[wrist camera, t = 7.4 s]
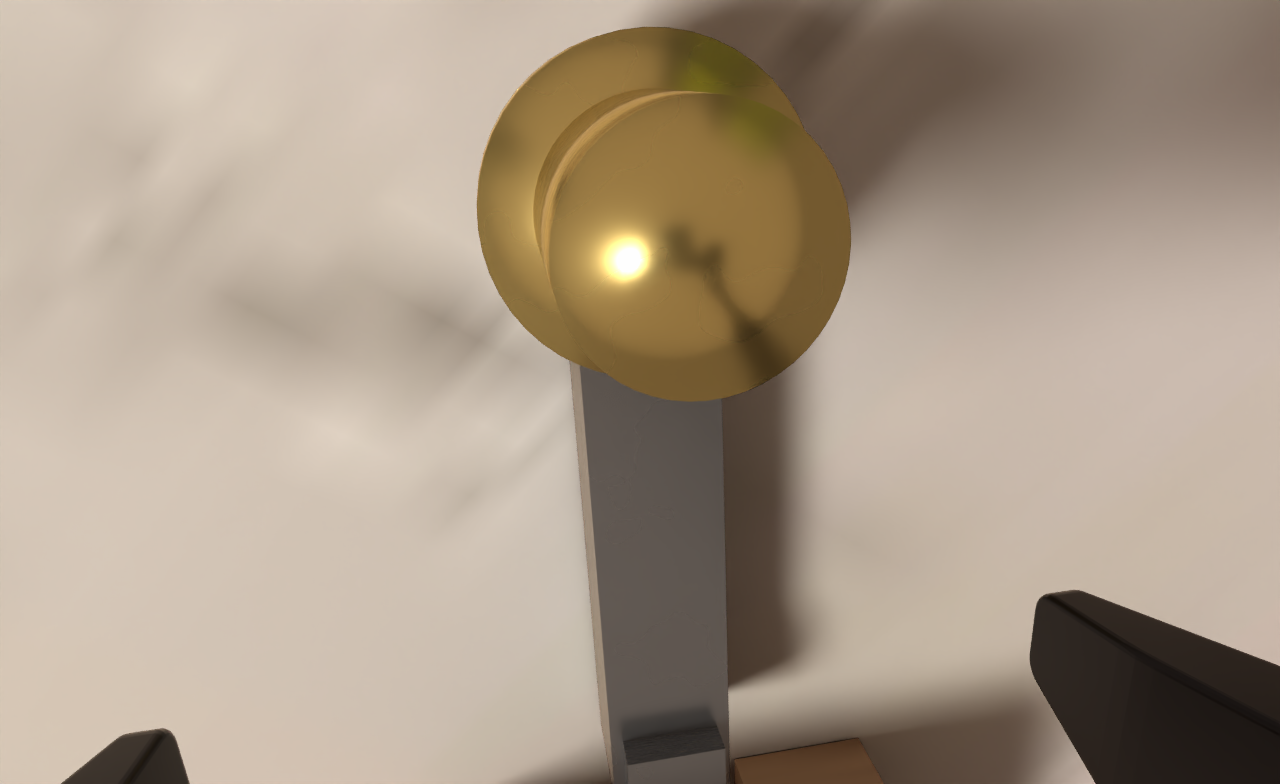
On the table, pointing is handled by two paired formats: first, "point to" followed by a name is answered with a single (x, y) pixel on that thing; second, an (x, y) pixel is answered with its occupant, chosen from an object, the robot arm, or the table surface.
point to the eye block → (810, 766)
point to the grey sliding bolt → (660, 337)
